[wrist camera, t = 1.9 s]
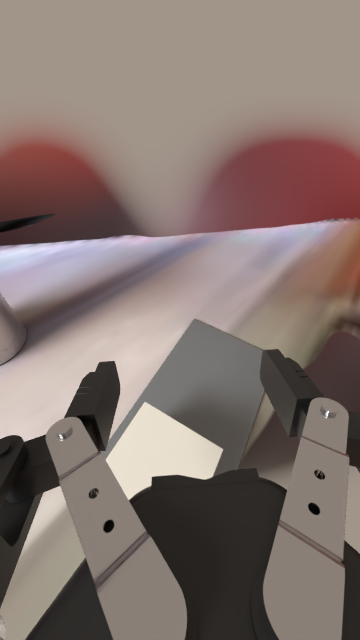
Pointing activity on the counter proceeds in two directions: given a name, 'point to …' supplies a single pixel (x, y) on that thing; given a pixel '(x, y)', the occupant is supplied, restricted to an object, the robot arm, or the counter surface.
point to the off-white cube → (160, 451)
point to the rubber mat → (207, 391)
